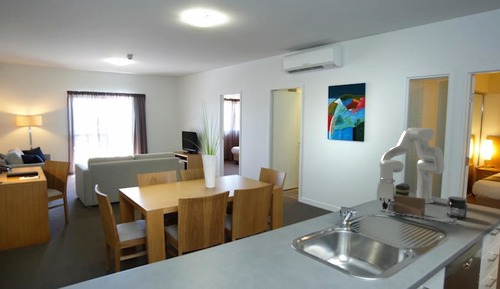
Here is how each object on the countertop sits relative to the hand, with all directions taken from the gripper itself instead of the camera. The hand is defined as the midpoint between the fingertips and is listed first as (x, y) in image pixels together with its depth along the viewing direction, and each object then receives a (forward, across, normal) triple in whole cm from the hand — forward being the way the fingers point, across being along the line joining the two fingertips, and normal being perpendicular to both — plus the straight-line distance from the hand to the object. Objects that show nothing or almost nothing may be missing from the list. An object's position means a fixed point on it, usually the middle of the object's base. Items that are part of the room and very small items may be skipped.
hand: (384, 208), depth 197 cm
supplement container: (+4, -37, -23) cm, 43 cm away
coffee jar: (+4, -7, -14) cm, 16 cm away
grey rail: (+4, -16, -7) cm, 18 cm away
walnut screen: (+2, -12, -3) cm, 12 cm away
